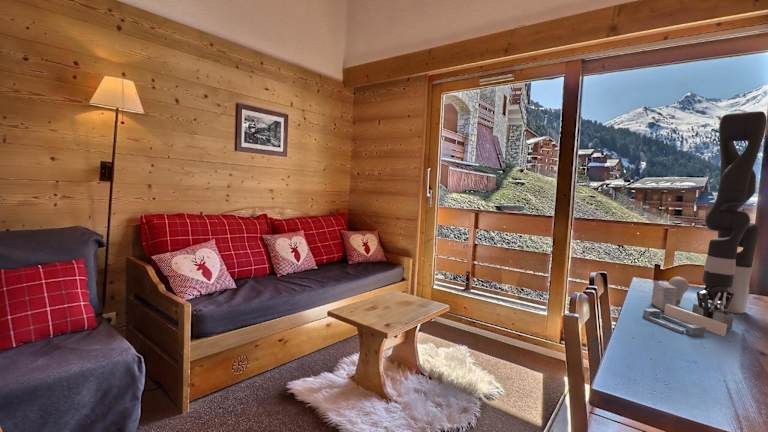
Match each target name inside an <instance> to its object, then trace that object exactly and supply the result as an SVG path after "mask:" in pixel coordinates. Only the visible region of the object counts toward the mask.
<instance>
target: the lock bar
mask: <svg viewBox="0 0 768 432" xmlns="http://www.w3.org/2000/svg"><path fill="white" fill-rule="evenodd" d="M709 307H710V305H709ZM703 311H704V310H703V309H702V308H699V306H698V303H693V304H692V309H691V312H693V313H696V314H698V315H701V316H703ZM734 316H735V313H732V312H727V311H722V310H719V309H716V308H713V311H712V318H711V319H713V320H716V321H719V322H722V323H725V324H727V329H726V330H732V328H733V322H734V318H735V317H734Z"/></svg>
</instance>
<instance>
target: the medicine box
mask: <svg viewBox="0 0 768 432" xmlns="http://www.w3.org/2000/svg"><path fill="white" fill-rule="evenodd" d="M677 291H678V289H677V288H675V287H673V286H671V285H669V283H666V282H660V281H658V282H657V281H656V282H653V288H652V295H651V305H653V306H654V307H656V308H658V310H660V311H664V312H665V305H666V304H669V305H672V306H675V307H677V305H676V299H677Z"/></svg>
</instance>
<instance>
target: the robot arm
mask: <svg viewBox="0 0 768 432" xmlns="http://www.w3.org/2000/svg"><path fill="white" fill-rule="evenodd" d="M718 126H719V127H718V135H719V137H718V138H719V150H720V151H719V152H720V171H719V174H720V175H719V184H718V190H717V194H716V199H715V200H714V203H713V204H712V206H711V208H710V210H709V211H708V213H707V215H706V217H705V226H706V227H707V229H709V230H711V231H717V237H715V238H714V237H713V238H711V239H710V240H709V243H708V249H707V255H706V259H705V262H704V268H703V273H702V283H704V285H705V286H704V288H703V290H702V291H697V292H696V298H697V304H698V306H699V308H702V309H703V310H704V311H703V316H704V317H707V318H710V319H711V318H712V311H713V308H716V309H719V310H722V311H726V312H729V313H732V314H745V312H747V311H746V309H747V304H748V299H749V294H750V280H751V276H752V275H751V273H752V269H753V262H754V256H755V252H756V248H757V243H758V240H759V235H760V227H759V224H756V223H752V222H751V217H750V214H748V213H747V212H746V211H743V210H739V209H740V208H741V207H742V206H744V205H745V204H746V203H747V202H749V200H750V199H752V197H753V196H754V194H755V193H756V185H757V175H756V172H755V171H754V166H755V164H756V160H757V158H758V155H759V152H760V149H761V146H762V143H763V139H764V136H765V133H766V128H767V115H766V113H765V112H764V111H762V110H756V111H743V112H732V113H725V114H723V115H722V116H721V117H720V120H719V125H718ZM735 142H747V145H746V147H745V149H744V150H743V152H742V153H741V154H740V153H739V152H738V150H737V147H736V145H735ZM739 248H742V249H741V250H740V251H738V249H739ZM709 306H710V307H709Z"/></svg>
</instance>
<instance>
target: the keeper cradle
mask: <svg viewBox="0 0 768 432" xmlns="http://www.w3.org/2000/svg"><path fill="white" fill-rule="evenodd" d="M661 313H662V310H661V309H657V308H644V309H643V314H642V317H644V319H646V320H647V321H650V322H652V323H654V324H657V325H660V326H663V327H665V328H667V329H670V330H672V331H675V332H677V333H678V334H685V335H688V336H691V337H698V336H705V331H706V330H705V328H706V327H703V326H701V325H692V324H689V323H686V322H684V321H681V320H678V319H676V318H673V317H670V316H668V315H665V314H661ZM660 319H662V320H666V321H668V322H670V323H673V324H675V325H679V326H680V327H683V328H685V329H683V328H680V327H679V326H678V327H677V326H675V325H672V324H670V323H667V322H665V321H662V320H660Z"/></svg>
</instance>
